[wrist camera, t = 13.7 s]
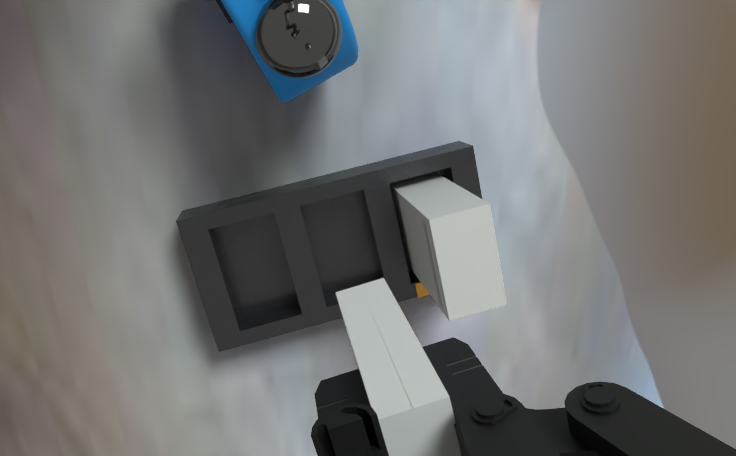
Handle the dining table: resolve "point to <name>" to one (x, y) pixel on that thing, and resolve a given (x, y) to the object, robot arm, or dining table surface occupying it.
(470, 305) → the pale grey rectangular block
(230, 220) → the rack
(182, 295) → the dining table surface
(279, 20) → the alarm clock
